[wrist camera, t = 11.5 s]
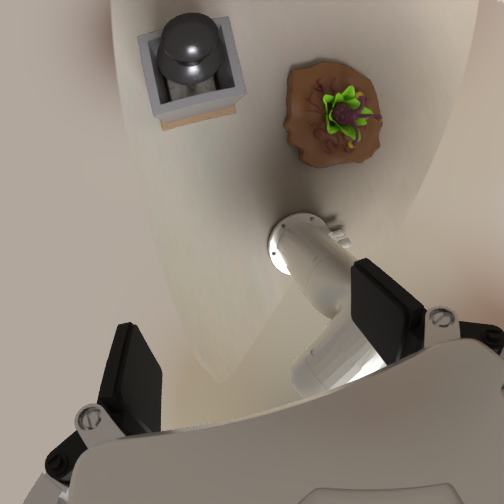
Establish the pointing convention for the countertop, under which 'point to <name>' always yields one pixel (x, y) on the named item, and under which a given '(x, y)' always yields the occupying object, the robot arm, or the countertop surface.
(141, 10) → the countertop surface
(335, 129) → the plant
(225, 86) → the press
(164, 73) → the plunger
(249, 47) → the countertop surface
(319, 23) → the countertop surface
